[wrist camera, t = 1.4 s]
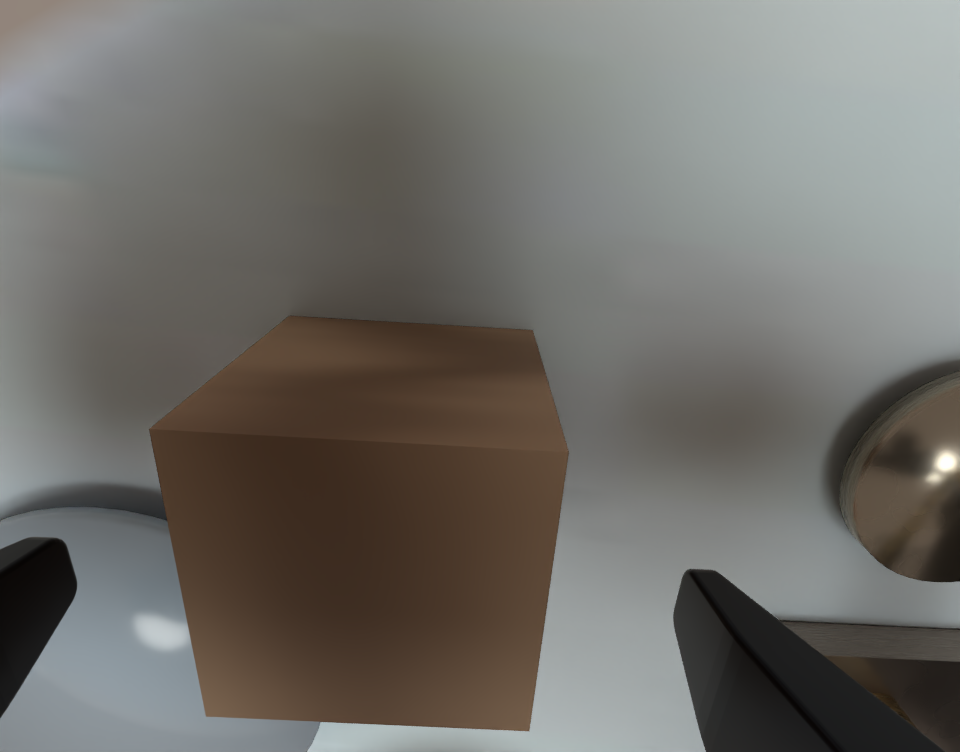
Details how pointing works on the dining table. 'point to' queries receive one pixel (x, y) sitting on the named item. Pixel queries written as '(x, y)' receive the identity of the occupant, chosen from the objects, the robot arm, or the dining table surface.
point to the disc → (123, 651)
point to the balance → (906, 556)
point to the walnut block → (368, 523)
